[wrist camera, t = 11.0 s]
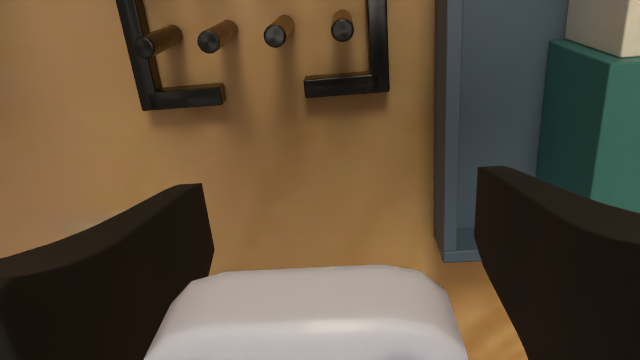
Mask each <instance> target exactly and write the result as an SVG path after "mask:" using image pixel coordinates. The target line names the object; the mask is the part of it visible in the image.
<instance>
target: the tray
mask: <svg viewBox="0 0 640 360" xmlns="http://www.w3.org/2000/svg"><path fill="white" fill-rule="evenodd" d="M568 4H569V0H435V106H434V237H435V240H436V243H437V246H438V248H439V251H440V254H441V257H442V260H443V262H444V263H452V262H471V261H481V258H480V255H479V252H478V248H477V245H476V242H475V238H474V227H475V208H476V189H477V170H478V167H486V166H507V167H510V168H513V169H516V170H519V171H521V172H524V173H526V174H528V175H531V176H533V177H536V178H538V177H537V176H536V171H537V161H538V151H539V140H540V130H541V120H542V110H543V99H544V89H545V79H546V69H547V58H548V48H549V41H551V40H564V39H565V31H566V22H567V13H568ZM538 179H539V178H538Z"/></svg>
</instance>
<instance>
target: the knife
mask: <svg viewBox="0 0 640 360" xmlns="http://www.w3.org/2000/svg"><path fill="white" fill-rule="evenodd" d="M536 176H537V177H538V178H539V179H540V180H543V181H545V182H547V183H550V184H552V185H555V186H557V187H560V188H562V189H565V190H567V191H570V192H572V193H575V194H578V195H581V196H583V197H586V198H589V199H592V200H595V201H598V202H601V203H604V204H607V205H611V206H614V207H618V208H622V209H625V210H629V211H633V212H637V213H640V0H569V4H568V13H567V22H566V31H565V39H564V40H551V41H549V48H548V58H547V69H546V79H545V89H544V99H543V110H542V120H541V130H540V140H539V151H538V161H537V171H536Z"/></svg>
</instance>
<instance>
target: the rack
mask: <svg viewBox="0 0 640 360" xmlns="http://www.w3.org/2000/svg"><path fill="white" fill-rule="evenodd" d="M116 4H117V8H118V12H119V16H120V20H121V24H122V28H123V32H124V37H125V41H126V45H127V49H128V53H129V57H130V61H131V65H132V70H133V74H134V78H135V82H136V86H137V90H138V94H139V98H140V103H141V107H142V110H143V111H148V110H162V109H175V108H188V107H200V106H213V105H222V104H223V103H224V102H225V101H226V96H225V90H224V84H223V83H215V84H203V85H191V86H178V87H166V88H161V84H160V79H159V75H158V70H157V66H156V61H155V57H154V56H155V55H157V54H159V53H161V52H163V51H164V50H166V49H168V48H170V47H172V46H174V45H176V44H178V43H180V41H181V40H182V33H181V30H180V29H179V28H178V27H176V26H174V25H169V26H167V27H164V28H161V29H159V30H156V31H153V32H151V33H149V30H148V25H147V21H146V16H145V12H144V7H143V3H142V0H116ZM366 20H367V40H368V61H369V71H365V72H352V73H340V74H328V75H315V76H306V77H305V78H304V91H305V97H306V98H314V97H327V96H340V95H353V94H366V93H378V92H388V91H389V58H388V27H387V0H366ZM293 29H294V21H293V19H292V18H291V17H289V16H287V15H282V16H280V17H278V18H277V19H276V20H275V21H274V22H273V23H272V24H270V25H269V26H268V27H267V28H266V30H265V32H264V40H265V42H266V43H267V44H268V45H269V46H271V47H274V48H277V47H280V46H282V45H283V44H284V43H285V41H286V40H287V38H288V37H289V35H290V34H291V33H292V31H293ZM237 33H238V28H237V25H236V24H235V23H234V22H233V21H230V20H225V21H223V22H221V23H219V24H217V25H215V26H213V27H211V28H209V29H207V30H205V31H203V32H202V33H200V35H199V36H198V45H199V47H200V49H201V50H202V51H204V52H205V53H214V52H216V51H217V50H219V49H220V48H221V47H223V46H224V45H225V44H227V43H228V42H230V41H231V40H232V39H234V38H235V37H236V36H237ZM331 33H332V36H333V38H334V39H335V40H337V41H339V42H345V41H348V40H349V39H350V38H351V37H352V36H353V33H354V27H353V22H352V17H351V15H350V13H349V12H348V11H346V10H339V11H337V12H336V13H335V14H334V16H333V20H332V27H331Z"/></svg>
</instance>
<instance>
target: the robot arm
mask: <svg viewBox="0 0 640 360" xmlns="http://www.w3.org/2000/svg"><path fill="white" fill-rule="evenodd" d="M474 238H475V242H476V245H477V248H478V252H479V255H480V258H481V261H482V264H483V266H484V269H485V271H486V273H487V275H488V277H489V279H490V281H491V283H492V285H493V287H494V289H495V291H496V293H497V295H498V297H499V298H500V300H501V302H502V304H503V306H504V308H505V310H506V312H507V314H508V316H509V318H510V320H511V322H512V324H513V326H514V328H515V330H516V331H517V334H518V336H519V338H520V340H521V342H522V345H523V347H524V349H525V352H526V355H527V357H528V360H640V213H637V212H633V211H629V210H625V209H622V208H618V207H614V206H611V205H607V204H604V203H601V202H598V201H595V200H592V199H589V198H586V197H583V196H581V195H578V194H575V193H572V192H570V191H567V190H565V189H562V188H560V187H557V186H555V185H552V184H550V183H547V182H545V181H543V180H540V179H538V178H536V177H533V176H531V175H528V174H526V173H524V172H521V171H519V170H516V169H513V168H510V167H507V166H486V167H478V170H477V189H476V208H475V227H474ZM213 254H214V244H213V239H212V234H211V229H210V224H209V219H208V213H207V208H206V203H205V198H204V193H203V188H202V183H198V184H181V185H176V186H173V187H171V188H168V189H166V190H164V191H162V192H160V193H158V194H156V195H154V196H152V197H150V198H148V199H147V200H145V201H143V202H141V203H139V204H137V205H135V206H134V207H132V208H130V209H128V210H126V211H124V212H122V213H120V214H118V215H116V216H114V217H112V218H110V219H108V220H106V221H104V222H102V223H100V224H98V225H95V226H93V227H91V228H89V229H87V230H84V231H82V232H79V233H77V234H75V235H72V236H69V237H67V238H64V239H62V240H59V241H56V242H53V243H51V244H48V245H44V246H41V247H38V248H35V249H32V250H28V251H25V252H22V253H19V254H15V255H12V256H9V257H5V258H1V259H0V360H469V359H468V356H467V352H466V349H465V346H464V343H463V340H462V337H461V334H460V331H459V328H458V325H457V322H456V318H455V315H454V312H453V309H452V306H451V303H450V300H449V297H448V294H447V292H446V291H445V290H444V289H443V288H441V287H440V286H439V285H438V284H436V283H435V282H434V281H432V280H431V279H430V278H429V277H427V276H426V275H425V274H424V273H422V272H421V271H418V270H413V269H407V268H401V267H396V266H390V265H384V264H378V265H357V266H335V267H314V268H293V269H271V270H250V271H229V272H222V273H219V274H215V275H212V276H208V275H209V271H210V267H211V263H212V258H213Z"/></svg>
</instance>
